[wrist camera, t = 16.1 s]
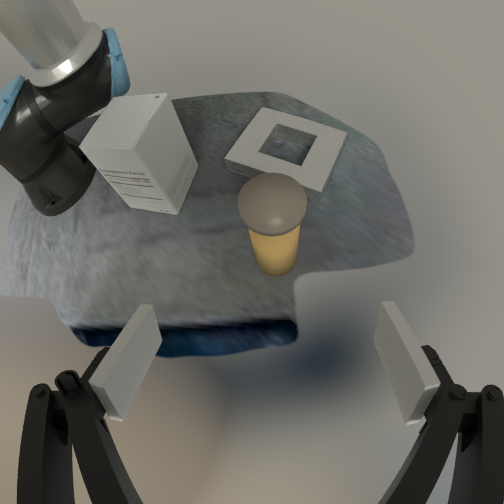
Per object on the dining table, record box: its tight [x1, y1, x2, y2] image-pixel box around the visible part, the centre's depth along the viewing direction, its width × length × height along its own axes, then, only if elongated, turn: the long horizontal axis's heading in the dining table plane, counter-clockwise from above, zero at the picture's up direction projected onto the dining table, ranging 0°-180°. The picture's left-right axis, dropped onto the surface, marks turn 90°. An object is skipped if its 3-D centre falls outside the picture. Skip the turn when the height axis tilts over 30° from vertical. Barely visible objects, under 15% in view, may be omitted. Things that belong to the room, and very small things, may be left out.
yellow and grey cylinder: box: [237, 173, 307, 276], centre depth 30 cm, size 6×6×13 cm
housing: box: [224, 107, 347, 205], centre depth 40 cm, size 14×12×3 cm
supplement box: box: [79, 93, 198, 215], centre depth 35 cm, size 9×9×15 cm
